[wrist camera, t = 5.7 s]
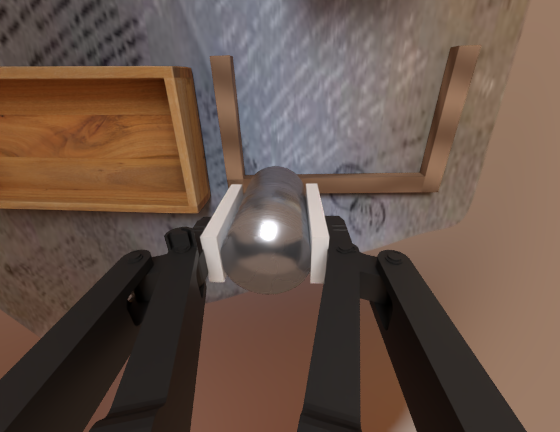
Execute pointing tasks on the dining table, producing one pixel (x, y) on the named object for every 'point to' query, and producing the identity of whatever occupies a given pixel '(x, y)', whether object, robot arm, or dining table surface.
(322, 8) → the dining table surface
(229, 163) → the bay
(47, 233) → the dining table surface
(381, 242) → the dining table surface
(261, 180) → the steel part
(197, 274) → the robot arm
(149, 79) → the tray
